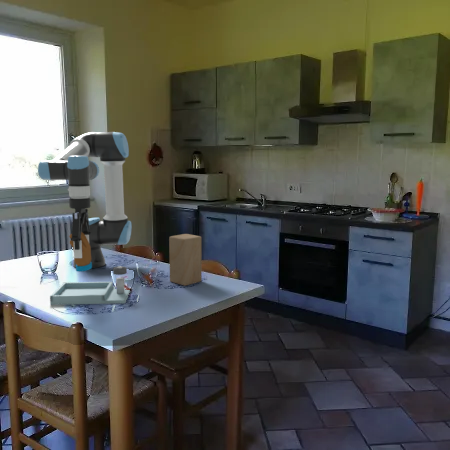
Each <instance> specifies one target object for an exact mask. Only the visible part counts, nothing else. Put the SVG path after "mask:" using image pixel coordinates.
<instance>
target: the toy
mask: <svg viewBox="0 0 450 450" xmlns="http://www.w3.org/2000/svg"><path fill="white" fill-rule="evenodd" d="M68 237H69V238H70V240H69V244H70V246H71V247H72V249H73V251H74V243H73V241H71V238H72V233H70V234H69V236H68ZM81 241H82V258H74V257H73V261H75V263H76V267H75V271H76V272H87V271H89V270H92V269H93V268H92V262H91V247H90V244H89V242H88V240H87V238H86V236H85V235H84V234H83V233H82V232H81Z"/></svg>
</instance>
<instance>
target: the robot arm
mask: <svg viewBox="0 0 450 450" xmlns="http://www.w3.org/2000/svg"><path fill="white" fill-rule="evenodd" d="M129 151H130V149H129V143H128V139H127V137H126V135H125V134H124V133H122V132H118V131H116V132H115V131H109V132H108V131H107V132H106V131H103V132H99V131H98V132H96V131H91V132H86V133H83V134H81V135H79V136H76V137H75V138H74V139H72V140H71V141H70V142H69V144H68V146H67V147H66V148H65V149H64V150H62V151H60V153H58V154H57V155H56V156H55V157H54V158H52V159H51V160H48V159H47V160H40V161H39V163H38V166H37V172H38V176H39V177H40V179H41V180H48V181H68V188H67V189H66V191H68V197H70V198H69V199H68V200H69V202H68V203H69V208H70V209H74V212H73V213H72V214H71V215H72V224H71V225H72V226H71V234H72V238H70V240H71V241H73V243H74V250H73V259H74V258H82V241H81V232H82V233H83V234H84V235H85V236H86V238H87V240H88V242H89V244H90V247H91V262H92V268H91V269H95V268H101V267H103V266H105V265H106V259H105V256H104V253H103V251H102V245H107V246H108V245H109V246H110V245H113V246H114V245H115V246H120V245H127V244H128V243H129V242H130V239H131V236H132V227H133V225H132V221H131V220H128V219H129V218H128V216H127V215H126V214H125V202H124V201H125V200H124V197H125V196H124V175H123V165H124V163H126V158H128V157H129V155H130V152H129ZM89 158H99V161H100V163H101V164H102V165H103V174H104V175H103V176H104V178H103V179H104V197H105V198H104V199H105V212H106V214H105V215H104V216H103V217H102V220H101V218H100V217H91V218H90V217H89V213H88V211H89V210H88V209H89V208H91V198H90V197H91V186H90V185H91V184H90V181H92V180H95V179H96V178H97V177H98V176H99V174H100V168H99V165H98V164H97V163H96V162H95V161H92V160H89ZM72 265H73V267H74V268H76V263H75V261H74V260H73V262H72Z"/></svg>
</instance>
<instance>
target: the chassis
mask: <svg viewBox="0 0 450 450" xmlns="http://www.w3.org/2000/svg"><path fill="white" fill-rule="evenodd" d="M115 280H116V281H115V282H116V284H115V285H116V286H114V285H113V284H114V283H113V281H88V282H87V281H85V282H84V281H83V282H81V281H79V282H77V281H74V282H73V281H72V282H71V281H69V282H62V283H61V284H60V286H58V287H57V288H56V289H55V291H54V292H53V293H52V294H50V296H49V301H50V302H49V305H50V306H52V305H57V306H59V305H100V304H101V305H102V304H103V305H109V304H110V305H112V304H116V305H118V304H126V303H127V301H128V298H129V296H130V294H129V293H131V291H130V290H125V289H124V286H125V277H116V279H115ZM115 287H117V289H115ZM128 295H129V296H128ZM126 300H127V301H126Z"/></svg>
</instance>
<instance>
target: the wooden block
mask: <svg viewBox="0 0 450 450" xmlns="http://www.w3.org/2000/svg"><path fill="white" fill-rule="evenodd" d="M168 241H169V252H168V253H169V282H171V283H175V284H178V285H181V286H188V285H189V286H190V285H194V284H196V283H200V282H202V279H203V277H202V271H203V270H202V269H203V268H202V236H200V235H194V234H191V233H190V234H189V233H182V234H177V235H176V234H175V235H171V236H169V239H168Z"/></svg>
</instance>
